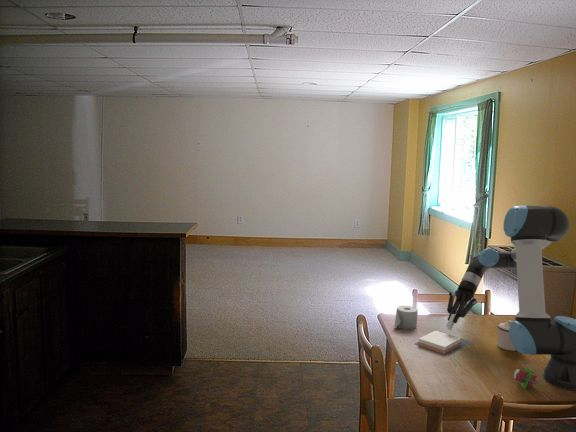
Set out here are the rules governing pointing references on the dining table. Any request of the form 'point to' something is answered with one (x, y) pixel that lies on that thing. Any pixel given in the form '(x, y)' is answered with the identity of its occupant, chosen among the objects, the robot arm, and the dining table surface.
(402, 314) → the toilet tissue
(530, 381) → the geometric puzzle
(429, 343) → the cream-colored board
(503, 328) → the teacup with lid
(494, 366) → the dining table surface
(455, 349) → the mat
